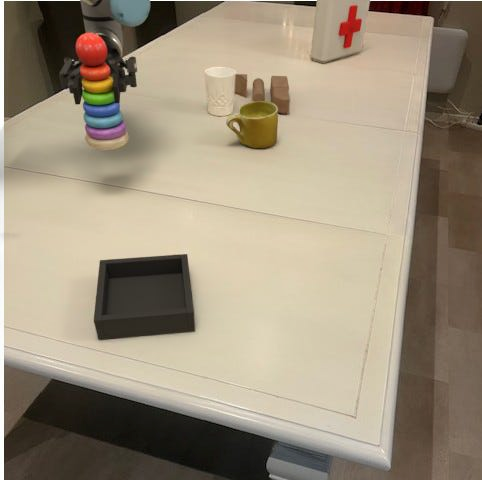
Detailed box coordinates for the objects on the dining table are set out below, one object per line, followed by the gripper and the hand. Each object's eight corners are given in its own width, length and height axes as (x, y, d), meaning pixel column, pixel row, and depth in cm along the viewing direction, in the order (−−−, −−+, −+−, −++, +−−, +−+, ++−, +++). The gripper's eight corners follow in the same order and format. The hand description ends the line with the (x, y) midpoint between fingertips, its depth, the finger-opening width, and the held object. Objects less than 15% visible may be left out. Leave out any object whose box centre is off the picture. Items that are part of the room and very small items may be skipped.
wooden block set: (287, 71, 137) (291, 93, 124) (285, 91, 141) (289, 115, 128) (228, 69, 137) (225, 91, 124) (227, 89, 141) (225, 113, 128)
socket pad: (98, 340, 67) (93, 320, 65) (103, 278, 77) (99, 260, 74) (195, 331, 69) (193, 312, 66) (188, 272, 79) (187, 253, 76)
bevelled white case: (326, 65, 159) (335, -5, 146) (308, 60, 164) (315, -10, 150) (364, 54, 170) (377, -13, 156) (346, 49, 174) (357, -17, 160)
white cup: (207, 105, 132) (206, 66, 125) (235, 106, 131) (236, 67, 125) (204, 116, 126) (203, 76, 119) (234, 117, 126) (235, 77, 119)
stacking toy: (89, 133, 95) (70, 25, 82) (130, 133, 95) (118, 26, 82) (83, 151, 89) (61, 38, 76) (127, 151, 89) (112, 39, 77)
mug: (276, 122, 119) (273, 88, 110) (284, 152, 114) (282, 118, 106) (227, 133, 120) (221, 99, 111) (234, 163, 115) (227, 130, 106)
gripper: (151, 73, 102) (154, 115, 85) (59, 75, 99) (43, 119, 82) (148, 33, 96) (150, 70, 80) (50, 34, 94) (31, 73, 77)
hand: (96, 95), depth 81 cm, fingers closed on stacking toy, 6 cm apart
